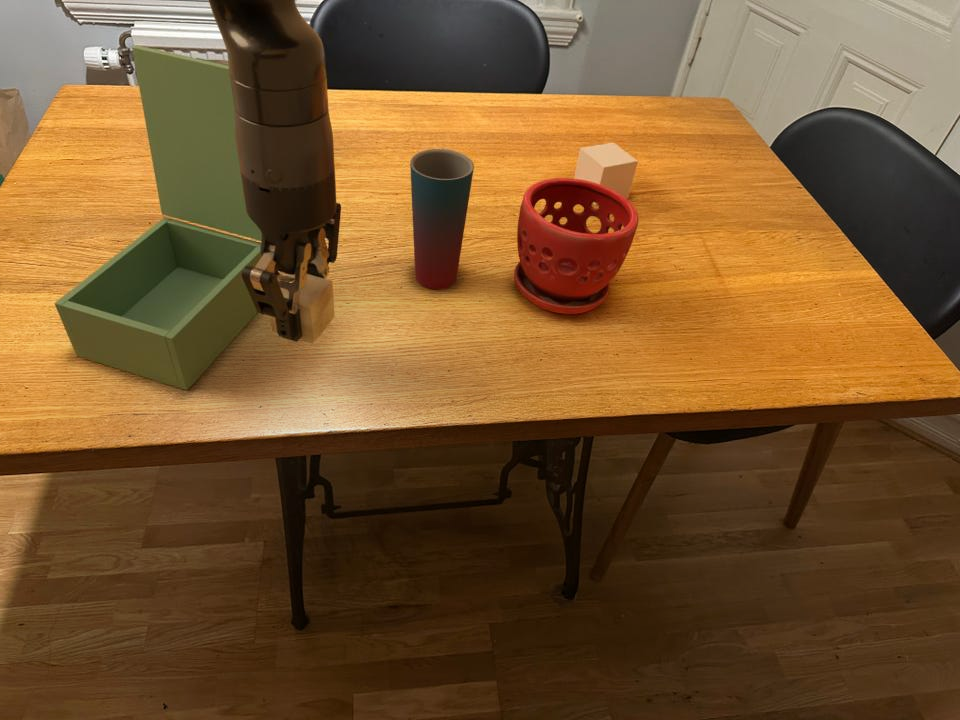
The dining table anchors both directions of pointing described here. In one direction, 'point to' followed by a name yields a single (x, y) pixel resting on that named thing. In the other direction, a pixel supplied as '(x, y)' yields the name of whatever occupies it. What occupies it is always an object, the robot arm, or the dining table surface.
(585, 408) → the dining table surface
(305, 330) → the wooden block
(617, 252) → the flower pot
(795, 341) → the dining table surface
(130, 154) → the dining table surface
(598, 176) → the beige cube
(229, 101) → the lunchbox lid
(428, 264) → the cup
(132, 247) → the box
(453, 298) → the dining table surface
